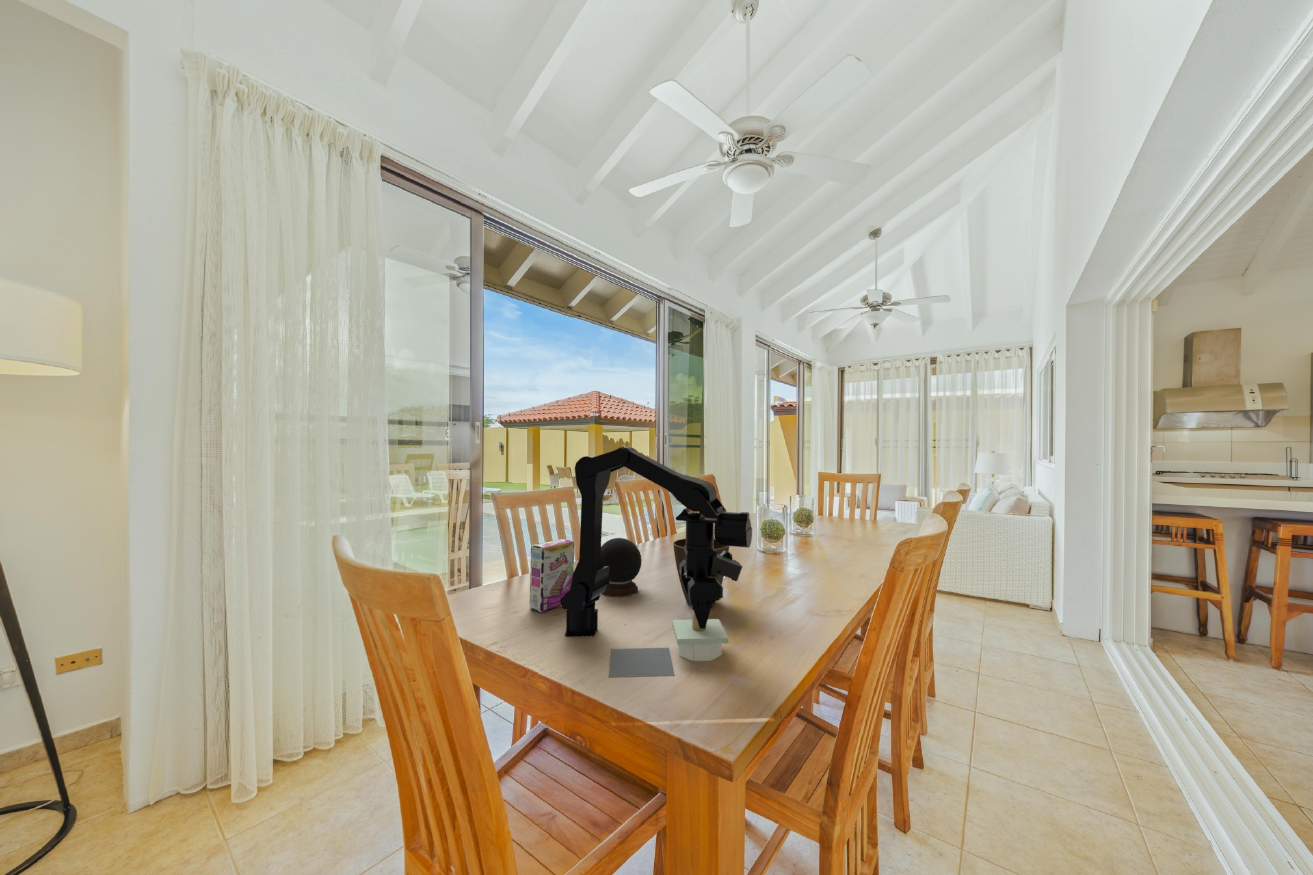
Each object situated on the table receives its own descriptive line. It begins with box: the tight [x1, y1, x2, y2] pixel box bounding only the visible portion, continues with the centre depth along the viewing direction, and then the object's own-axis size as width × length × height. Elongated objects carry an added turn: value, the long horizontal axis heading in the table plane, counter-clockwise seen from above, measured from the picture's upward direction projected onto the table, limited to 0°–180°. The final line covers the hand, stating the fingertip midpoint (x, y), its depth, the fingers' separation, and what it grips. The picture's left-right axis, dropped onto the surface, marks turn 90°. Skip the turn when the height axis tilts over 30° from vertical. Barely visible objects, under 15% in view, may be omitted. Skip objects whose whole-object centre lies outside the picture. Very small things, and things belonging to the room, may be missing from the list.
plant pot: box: [672, 538, 730, 608], centre depth 130 cm, size 15×15×16 cm
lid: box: [671, 609, 730, 645], centre depth 100 cm, size 10×10×4 cm
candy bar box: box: [529, 538, 575, 614], centre depth 128 cm, size 11×5×16 cm, turn 144°
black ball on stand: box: [601, 537, 642, 598], centre depth 141 cm, size 13×13×15 cm
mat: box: [608, 647, 676, 679], centre depth 95 cm, size 12×12×1 cm
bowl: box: [676, 643, 723, 662], centre depth 100 cm, size 9×9×4 cm
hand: (699, 619), depth 100 cm, fingers open, 9 cm apart
